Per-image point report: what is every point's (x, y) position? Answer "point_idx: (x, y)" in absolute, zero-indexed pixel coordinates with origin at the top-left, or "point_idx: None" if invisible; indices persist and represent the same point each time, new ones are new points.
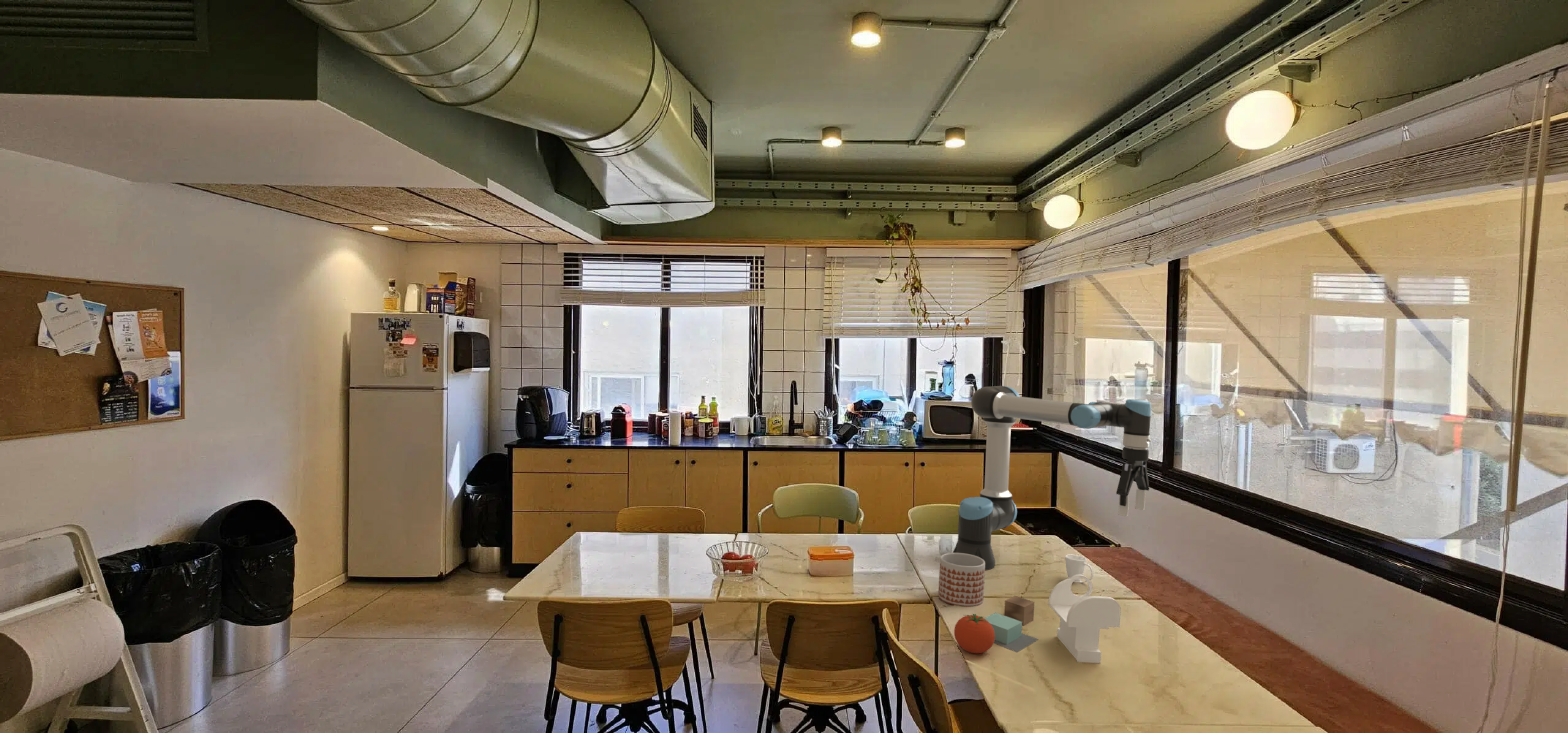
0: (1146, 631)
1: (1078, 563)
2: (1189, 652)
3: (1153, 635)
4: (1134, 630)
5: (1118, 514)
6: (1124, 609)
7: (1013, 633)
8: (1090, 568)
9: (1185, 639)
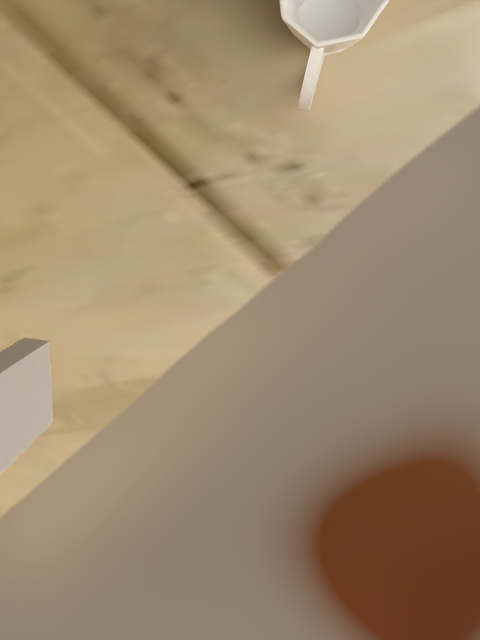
0: None
1: (286, 23)
2: None
3: None
4: None
5: (23, 340)
6: (153, 282)
7: None
8: (301, 91)
9: (72, 449)
